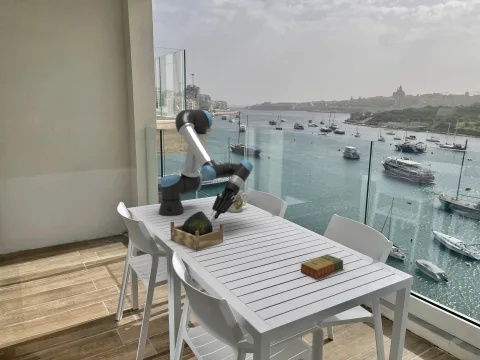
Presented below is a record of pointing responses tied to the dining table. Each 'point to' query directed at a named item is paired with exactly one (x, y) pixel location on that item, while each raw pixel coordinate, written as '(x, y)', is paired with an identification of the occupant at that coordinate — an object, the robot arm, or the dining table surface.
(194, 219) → the squash
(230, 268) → the dining table surface
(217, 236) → the rack
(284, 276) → the dining table surface
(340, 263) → the carton
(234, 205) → the pitcher
